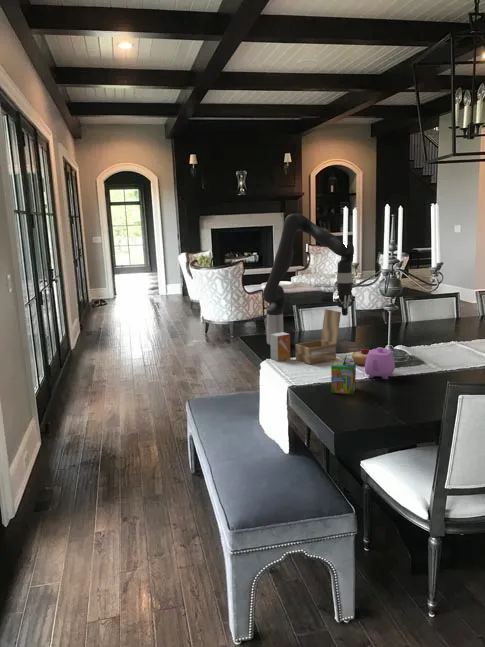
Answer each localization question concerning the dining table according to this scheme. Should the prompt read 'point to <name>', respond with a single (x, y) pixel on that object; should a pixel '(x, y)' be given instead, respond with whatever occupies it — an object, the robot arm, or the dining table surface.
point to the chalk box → (343, 376)
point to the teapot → (379, 363)
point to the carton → (315, 352)
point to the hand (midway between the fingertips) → (344, 315)
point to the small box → (280, 346)
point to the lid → (330, 326)
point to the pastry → (360, 356)
